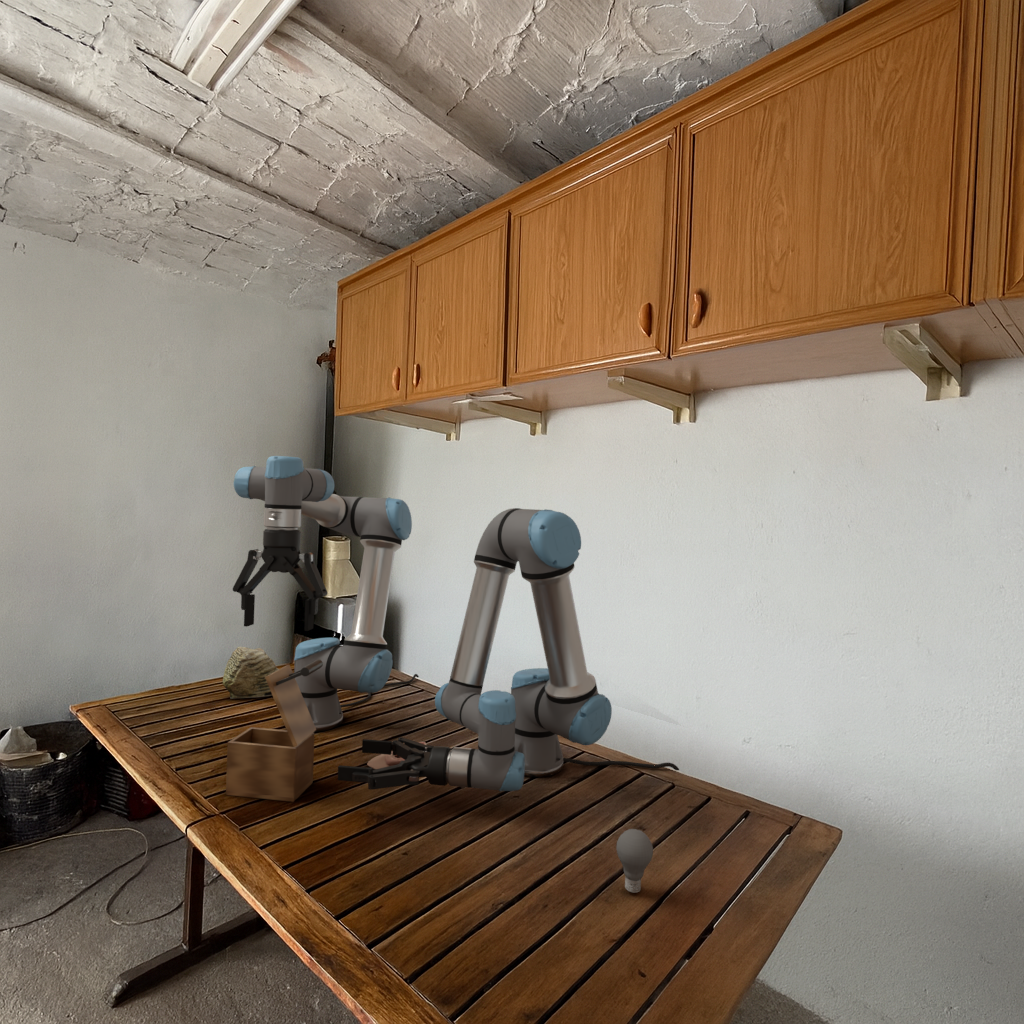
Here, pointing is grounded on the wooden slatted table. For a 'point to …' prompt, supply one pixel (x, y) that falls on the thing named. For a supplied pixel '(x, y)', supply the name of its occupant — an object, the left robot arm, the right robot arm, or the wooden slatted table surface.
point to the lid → (293, 701)
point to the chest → (269, 765)
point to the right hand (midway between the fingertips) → (351, 758)
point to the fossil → (248, 673)
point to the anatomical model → (386, 760)
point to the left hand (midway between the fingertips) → (278, 627)
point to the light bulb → (634, 857)
